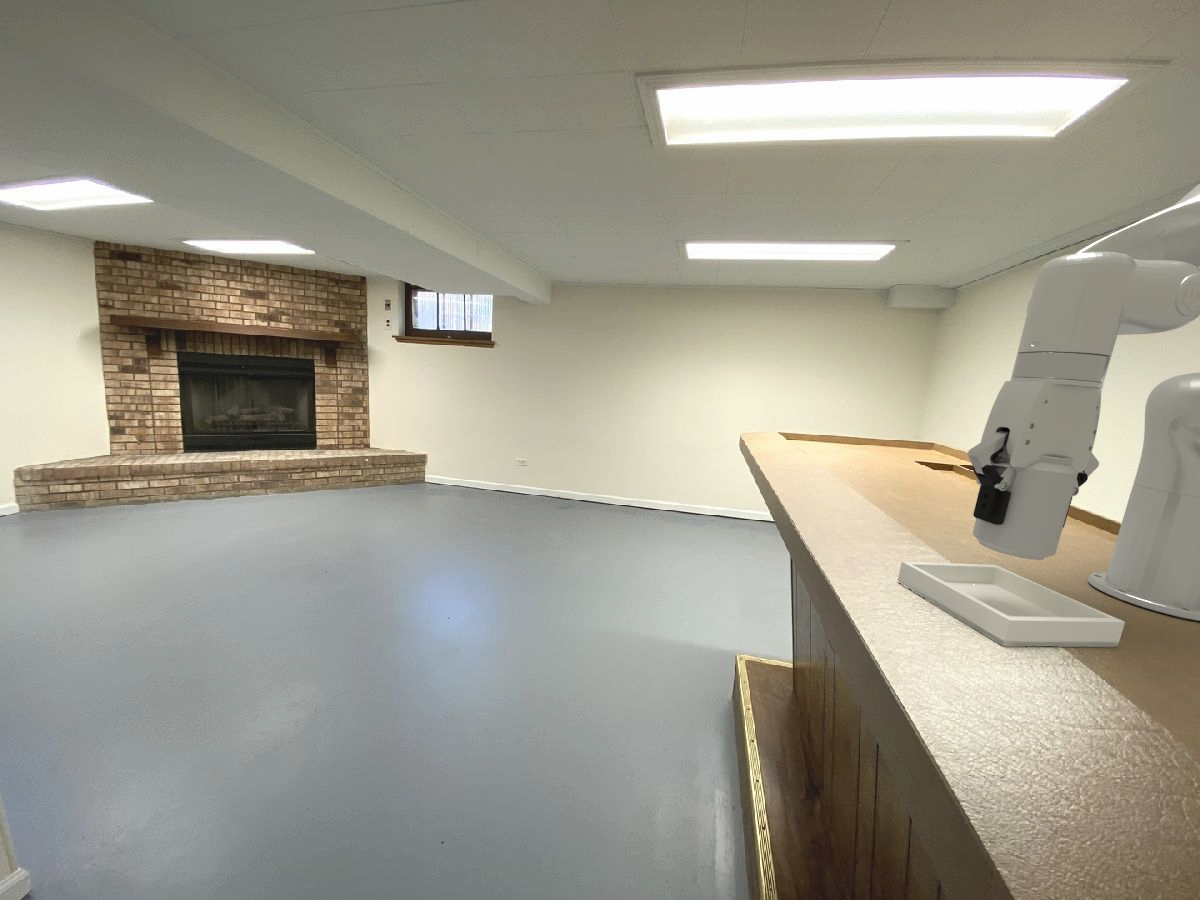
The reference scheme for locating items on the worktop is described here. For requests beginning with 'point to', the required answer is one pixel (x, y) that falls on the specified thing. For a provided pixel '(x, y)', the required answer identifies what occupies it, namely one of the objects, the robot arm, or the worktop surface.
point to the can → (1032, 510)
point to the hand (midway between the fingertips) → (1017, 522)
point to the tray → (1010, 606)
